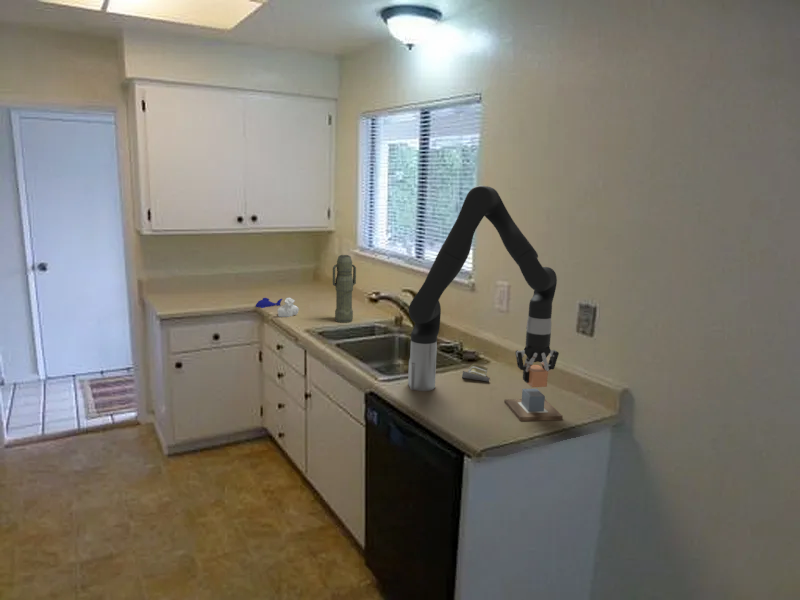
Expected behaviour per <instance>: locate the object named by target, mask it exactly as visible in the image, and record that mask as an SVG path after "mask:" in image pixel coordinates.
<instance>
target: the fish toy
mask: <svg viewBox="0 0 800 600" xmlns="http://www.w3.org/2000/svg"><path fill="white" fill-rule="evenodd" d="M282 300H283V298H280V299H279V300H277V301H276V302H273V301H270V299H269V297H262V299H260V300H258V301H257V302H256V304H255V307H256V308H260V309H265V308H269V307H274V306H279V307H281V306H282V305H281V302H282Z"/></svg>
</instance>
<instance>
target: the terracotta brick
mask: <svg viewBox="0 0 800 600" xmlns="http://www.w3.org/2000/svg"><path fill="white" fill-rule="evenodd" d="M548 376H549V371H547V370H545V369H544V368H542V365H539V364H533V365H532V366H531V367H530V370H529V383H526V385H529V386H530V387H531V388H547V387H548Z"/></svg>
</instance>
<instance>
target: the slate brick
mask: <svg viewBox="0 0 800 600" xmlns="http://www.w3.org/2000/svg"><path fill="white" fill-rule="evenodd" d="M521 399H522V402H521V403H522V405H523V406H524V407H525V408H526V409H527V410H528V411H529V412H530V411H544V401H545V400H546V397H545V394H543V393H542V392H541V391H540V390H539V389H538V388H522V391H521Z"/></svg>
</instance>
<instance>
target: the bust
mask: <svg viewBox="0 0 800 600" xmlns="http://www.w3.org/2000/svg"><path fill="white" fill-rule="evenodd" d="M295 302H296V300H295V299H294V298H292V297H286V298H285V300H284V304H283V305H281V306H279V307H278V308H277V315H278V317H279V318H291V317H294V316H293V315H295V316H297V315H298V313H299V311H300V308H299V307H298V306H297V305H295V304H294V303H295ZM290 316H291V317H290Z"/></svg>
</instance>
